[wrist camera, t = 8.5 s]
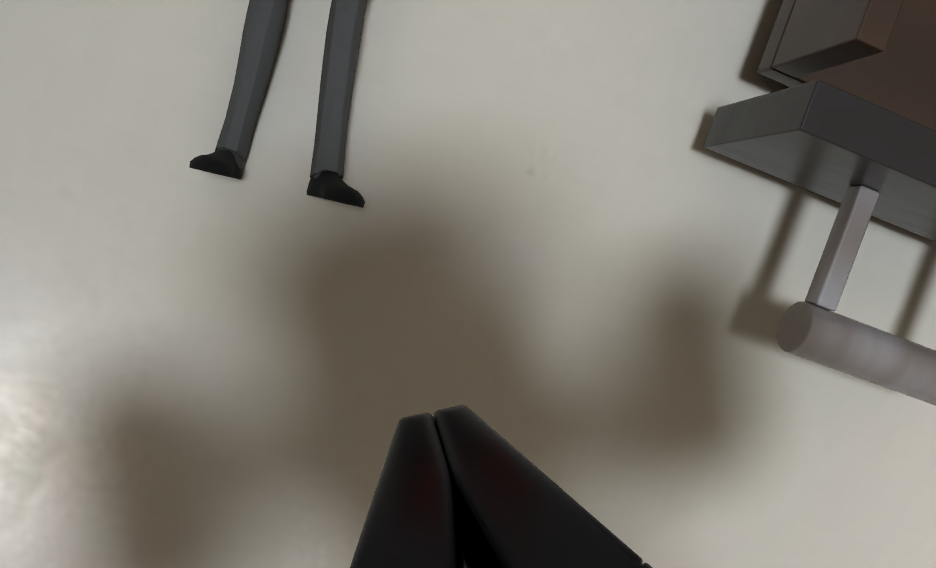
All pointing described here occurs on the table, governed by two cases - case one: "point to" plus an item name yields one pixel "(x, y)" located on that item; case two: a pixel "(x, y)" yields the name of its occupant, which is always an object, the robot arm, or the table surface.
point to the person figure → (333, 97)
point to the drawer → (848, 159)
